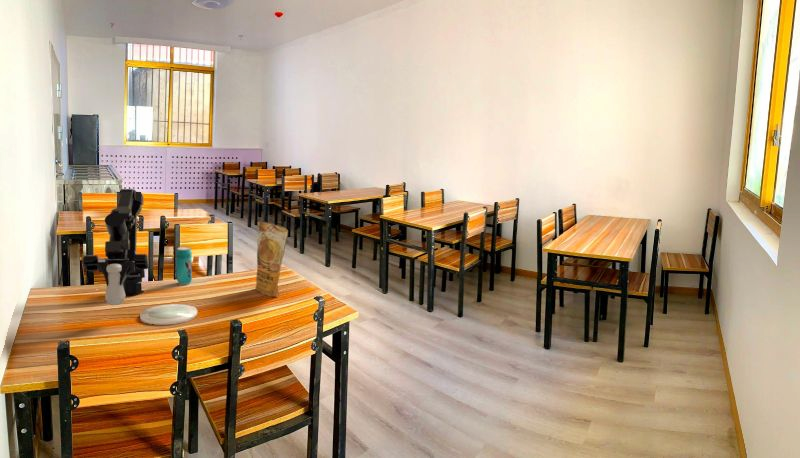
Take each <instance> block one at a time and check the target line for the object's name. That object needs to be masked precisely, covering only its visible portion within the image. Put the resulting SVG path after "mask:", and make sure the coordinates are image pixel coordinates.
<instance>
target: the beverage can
mask: <svg viewBox="0 0 800 458" xmlns="http://www.w3.org/2000/svg"><path fill="white" fill-rule="evenodd" d="M176 249H177V250H176V281H177V283H178V284H179V285H180V286H187V285H189V284H191V283H192V280H193V270H192V269H193V263H192V249H191V247H189V246H182V247H181V246H180V247H177V248H176Z"/></svg>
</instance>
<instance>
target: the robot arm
mask: <svg viewBox="0 0 800 458" xmlns="http://www.w3.org/2000/svg"><path fill="white" fill-rule="evenodd" d="M143 205H144V195H143V193H141V192H138V191H136V189H134V188H122V189H119V192H117V206H116V207H115V208H113V209H112V210H111V211H110V213H109V214H107V215H106V216H105V218H104V223H105V227H106V230H107V232H108V234H109V238H108V239H109V240H108V241H105V242H104V252H105V257H98V255H97V254H88V255H87V254H86V255H84V256H83V257H82V260H81V262H82V265H83V268H84V270H85V271H87V272H90V271H91V272H94V271H98V273H102V274H103V277H104V279H105V283H106V287H107V286H108V275H109V272H107V270H106V268H107V266H108V265H110V264H120V265H121V266H122V270H121V272H119V273H120V276H121V277H120V285H122V284H123V287H124V291H125V295H126V296H128V297H129V296H130V297H134V296H136V295H140V294H142V293H145V290H142V279H144V278H145V277H146V273H145V272H146V271H145V270H148V269H149V264H150V263H149V257H148V255H147V254H146V253H137V233H138V232H137V231H138V230H137V228H138V227H137V226H138V225H137V224H138V216H139V214H140V212H141V211H142V209H143V208H142V206H143Z"/></svg>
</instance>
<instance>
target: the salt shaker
mask: <svg viewBox="0 0 800 458" xmlns="http://www.w3.org/2000/svg"><path fill="white" fill-rule="evenodd" d="M106 270H107V272H109V275H108V286H107V285H106V288H105V289H106V290H105V295H104V298H105V301H106V303H107V304H108V305H110V306H119V305H122V304H123V303H124V301H125V298H126V296H127V295H125V291H124V287H123V284H122V285H120V277H121V276H120V273H119V272H121V270H122V266H121V265H120V264H110V265H108V266H107V268H106Z"/></svg>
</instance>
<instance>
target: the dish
mask: <svg viewBox="0 0 800 458" xmlns="http://www.w3.org/2000/svg"><path fill="white" fill-rule="evenodd" d="M197 316H198V309H197V308H196V307H194V306H193V305H190V304H189V305H188V304H177V303H171V304H162V305H156V306H152V307H149V308H146V309H145V310H143V311H141V312H140V314H139V317H140V318H139V319H140V322H141V323H142V322H143V323H145V324H147V323H148V325H152V324H154V326H155V325H156V326H168V325H169V326H170V325H178V324H182V323H185V322H189V321H192V320H194V319H195V318H196V317H197Z"/></svg>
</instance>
